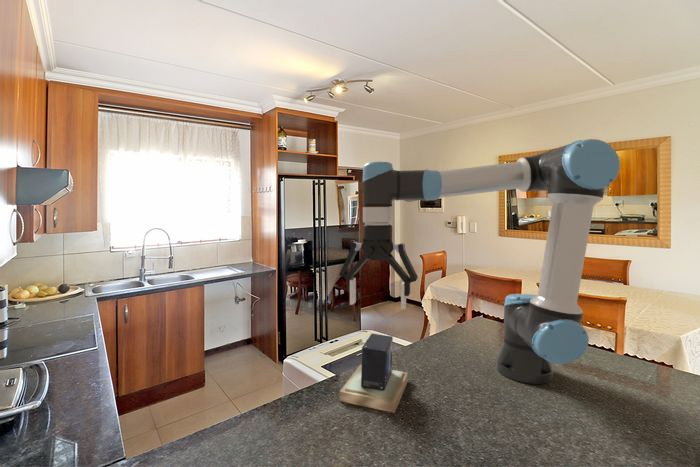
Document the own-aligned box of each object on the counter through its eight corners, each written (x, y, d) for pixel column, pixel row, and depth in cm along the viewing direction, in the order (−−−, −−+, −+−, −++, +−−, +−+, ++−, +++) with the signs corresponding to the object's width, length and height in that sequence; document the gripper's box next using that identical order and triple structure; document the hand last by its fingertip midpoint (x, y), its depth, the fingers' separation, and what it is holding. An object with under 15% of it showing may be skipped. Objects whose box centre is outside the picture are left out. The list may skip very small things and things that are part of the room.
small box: (385, 391, 86) (386, 350, 85) (360, 387, 88) (360, 347, 87) (393, 372, 96) (393, 335, 95) (370, 369, 98) (370, 332, 97)
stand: (407, 381, 97) (407, 370, 97) (394, 412, 82) (394, 400, 82) (360, 372, 102) (360, 362, 102) (339, 401, 87) (339, 389, 87)
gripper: (429, 223, 88) (428, 306, 90) (337, 222, 97) (338, 298, 98) (424, 225, 81) (424, 314, 83) (326, 224, 90) (327, 305, 91)
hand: (377, 305), depth 90 cm, fingers open, 13 cm apart
